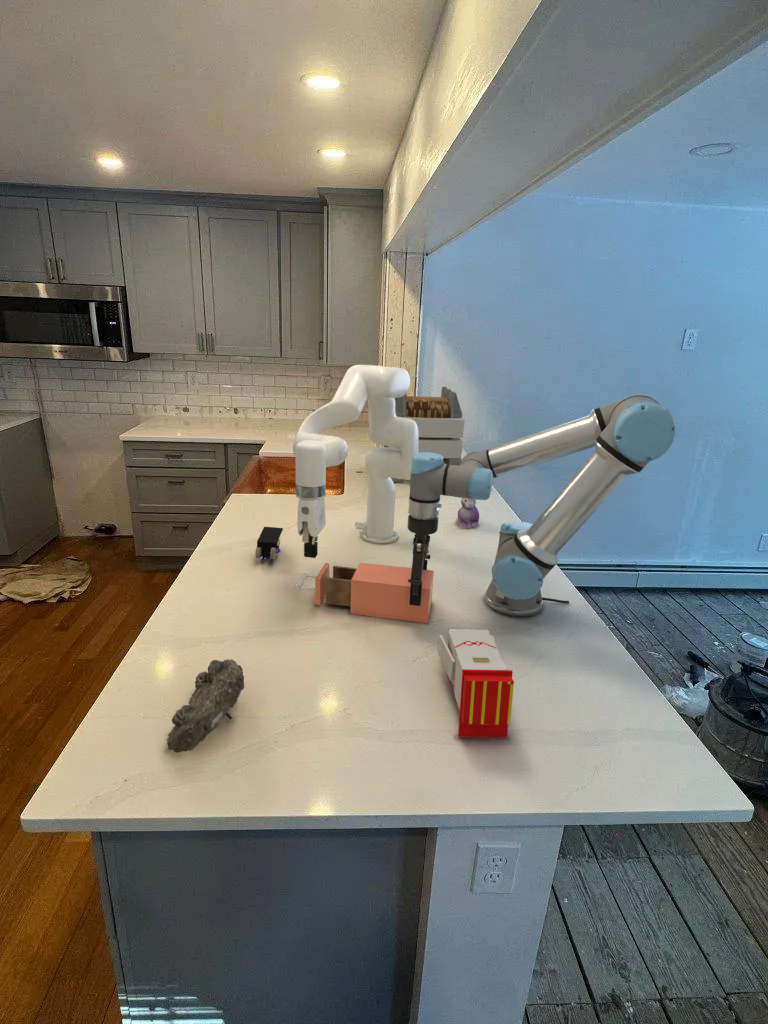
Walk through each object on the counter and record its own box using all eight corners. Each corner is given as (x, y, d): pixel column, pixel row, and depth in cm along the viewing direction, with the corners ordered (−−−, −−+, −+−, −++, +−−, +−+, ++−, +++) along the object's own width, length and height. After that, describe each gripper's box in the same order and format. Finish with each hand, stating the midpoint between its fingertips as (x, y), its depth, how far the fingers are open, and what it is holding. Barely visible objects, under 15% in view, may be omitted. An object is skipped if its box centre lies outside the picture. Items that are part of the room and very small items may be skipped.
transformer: (382, 463, 289) (386, 382, 275) (445, 464, 293) (451, 384, 279) (390, 482, 257) (394, 392, 243) (460, 483, 261) (468, 394, 247)
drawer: (293, 602, 149) (292, 575, 147) (304, 585, 158) (303, 560, 155) (386, 613, 146) (387, 586, 143) (392, 596, 154) (393, 570, 152)
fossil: (192, 660, 117) (244, 628, 112) (224, 691, 120) (276, 661, 115) (142, 746, 98) (202, 712, 93) (182, 779, 101) (242, 748, 96)
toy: (488, 613, 130) (523, 677, 101) (484, 667, 133) (517, 744, 104) (435, 612, 130) (455, 676, 101) (432, 666, 133) (451, 743, 103)
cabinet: (350, 613, 147) (351, 579, 143) (359, 594, 157) (360, 562, 153) (427, 623, 144) (430, 588, 140) (431, 603, 154) (433, 570, 150)
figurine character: (277, 570, 171) (284, 545, 185) (276, 548, 168) (283, 525, 181) (254, 569, 171) (263, 545, 184) (253, 548, 168) (262, 524, 181)
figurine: (465, 530, 205) (468, 491, 200) (449, 521, 213) (452, 483, 208) (486, 527, 209) (490, 488, 204) (469, 518, 218) (473, 480, 213)
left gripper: (316, 500, 136) (316, 569, 142) (332, 483, 149) (331, 547, 156) (286, 497, 137) (287, 566, 143) (305, 480, 151) (305, 544, 157)
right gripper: (434, 534, 128) (427, 618, 135) (442, 501, 151) (436, 574, 158) (401, 531, 129) (396, 614, 137) (414, 498, 152) (409, 571, 159)
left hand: (310, 556), depth 149 cm, fingers closed
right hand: (417, 592), depth 147 cm, fingers open, 12 cm apart
